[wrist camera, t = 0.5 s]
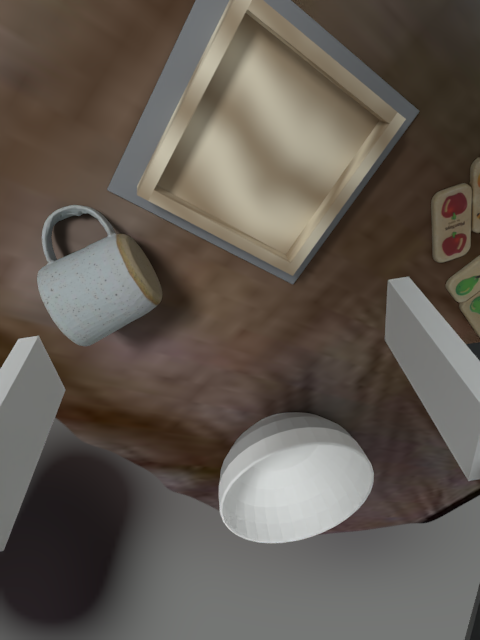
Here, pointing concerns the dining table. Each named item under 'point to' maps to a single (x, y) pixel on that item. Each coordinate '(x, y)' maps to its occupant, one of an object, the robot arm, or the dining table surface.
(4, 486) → the robot arm
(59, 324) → the ceramic mug
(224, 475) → the bowl
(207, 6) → the mat
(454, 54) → the dining table surface
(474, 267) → the pile of dominoes
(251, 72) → the tray
